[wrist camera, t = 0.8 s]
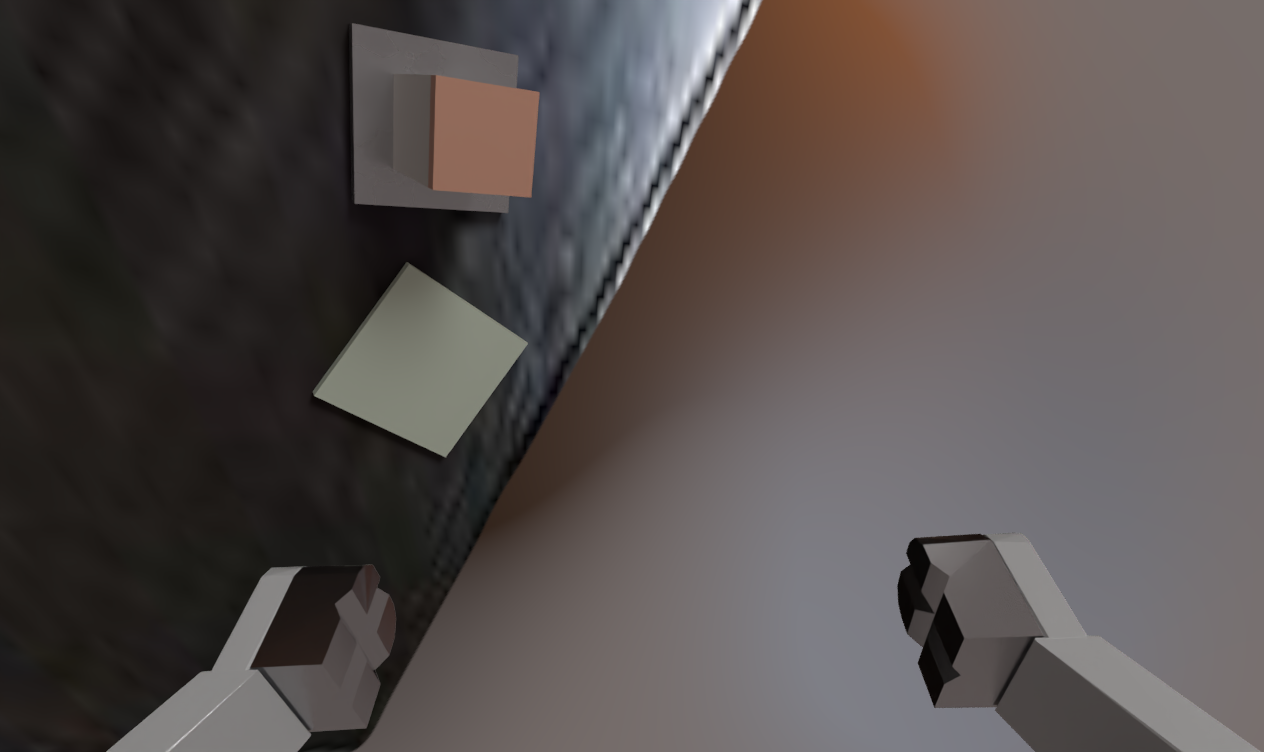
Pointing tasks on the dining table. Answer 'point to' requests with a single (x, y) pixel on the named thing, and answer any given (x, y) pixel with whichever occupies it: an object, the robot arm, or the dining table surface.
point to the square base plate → (372, 112)
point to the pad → (421, 363)
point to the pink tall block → (464, 134)
